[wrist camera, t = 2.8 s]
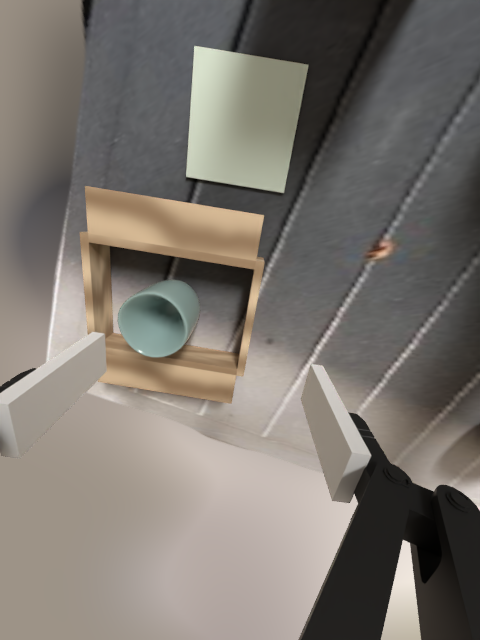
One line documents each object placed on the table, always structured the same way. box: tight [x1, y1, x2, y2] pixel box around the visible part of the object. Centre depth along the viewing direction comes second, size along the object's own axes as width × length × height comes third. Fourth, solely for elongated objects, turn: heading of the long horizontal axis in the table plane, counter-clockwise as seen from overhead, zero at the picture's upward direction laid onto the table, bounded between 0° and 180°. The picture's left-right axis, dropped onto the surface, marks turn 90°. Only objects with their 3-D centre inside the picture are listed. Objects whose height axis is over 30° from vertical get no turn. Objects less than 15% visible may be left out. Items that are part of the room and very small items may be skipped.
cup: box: [118, 279, 200, 358], centre depth 31 cm, size 8×8×10 cm
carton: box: [80, 186, 264, 403], centre depth 34 cm, size 26×22×4 cm
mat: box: [186, 46, 309, 193], centre depth 28 cm, size 12×12×1 cm
